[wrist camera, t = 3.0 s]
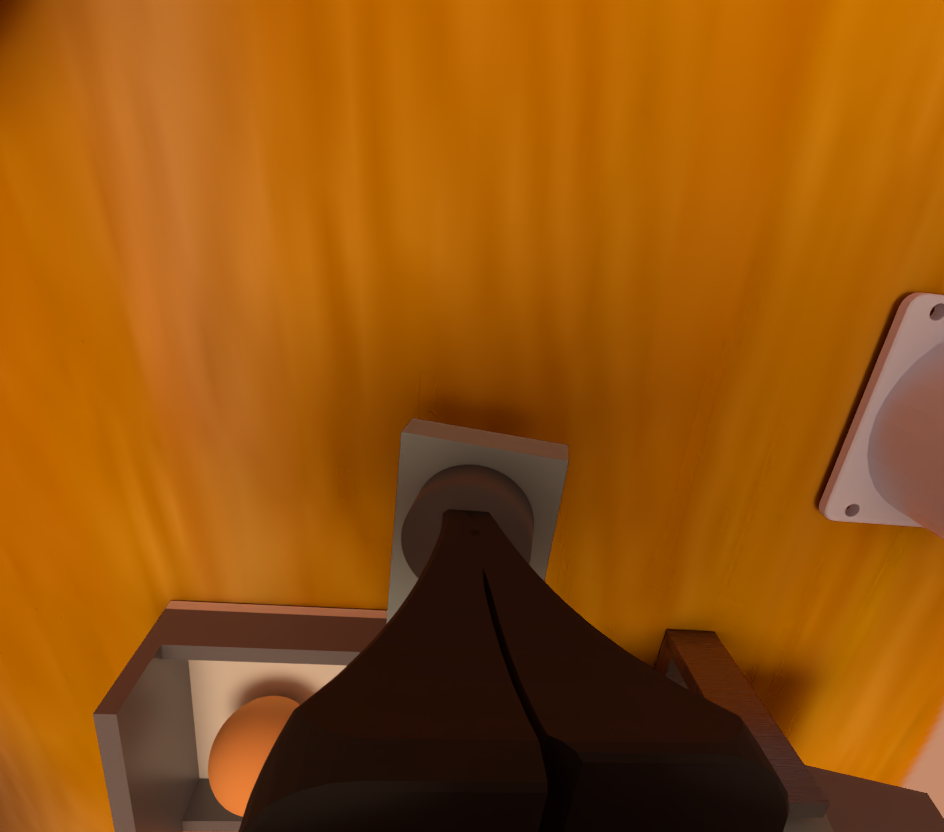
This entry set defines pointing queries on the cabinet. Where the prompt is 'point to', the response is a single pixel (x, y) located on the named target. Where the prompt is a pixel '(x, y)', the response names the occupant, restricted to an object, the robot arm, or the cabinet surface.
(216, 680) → the box
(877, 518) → the robot arm
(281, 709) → the ball
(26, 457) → the cabinet surface
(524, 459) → the lever trough
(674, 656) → the pivot stand
